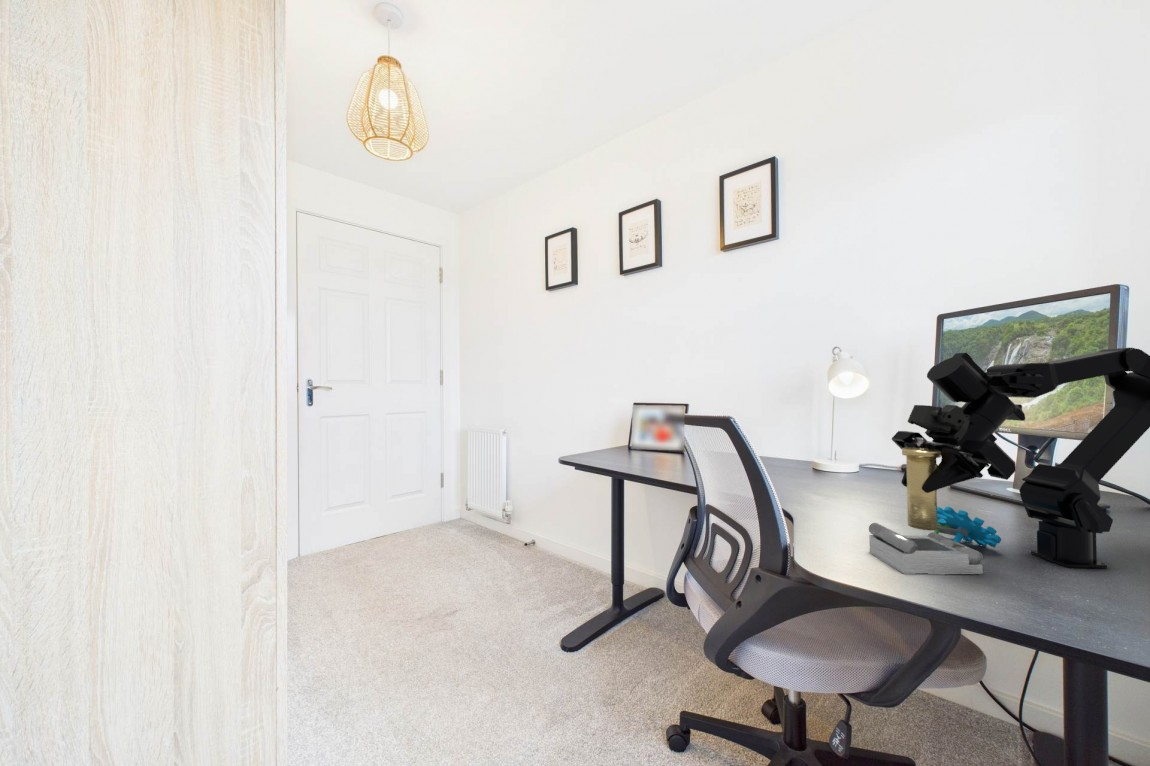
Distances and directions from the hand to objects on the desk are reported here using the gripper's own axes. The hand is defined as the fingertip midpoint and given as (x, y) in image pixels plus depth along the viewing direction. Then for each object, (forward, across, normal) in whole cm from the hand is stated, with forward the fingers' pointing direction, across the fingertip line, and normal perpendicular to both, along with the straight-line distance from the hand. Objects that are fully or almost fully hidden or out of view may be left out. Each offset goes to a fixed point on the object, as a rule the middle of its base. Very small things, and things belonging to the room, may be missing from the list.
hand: (913, 487), depth 75 cm
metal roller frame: (+8, 0, +10) cm, 13 cm away
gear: (-2, -8, +20) cm, 22 cm away
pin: (+4, 0, +6) cm, 7 cm away
